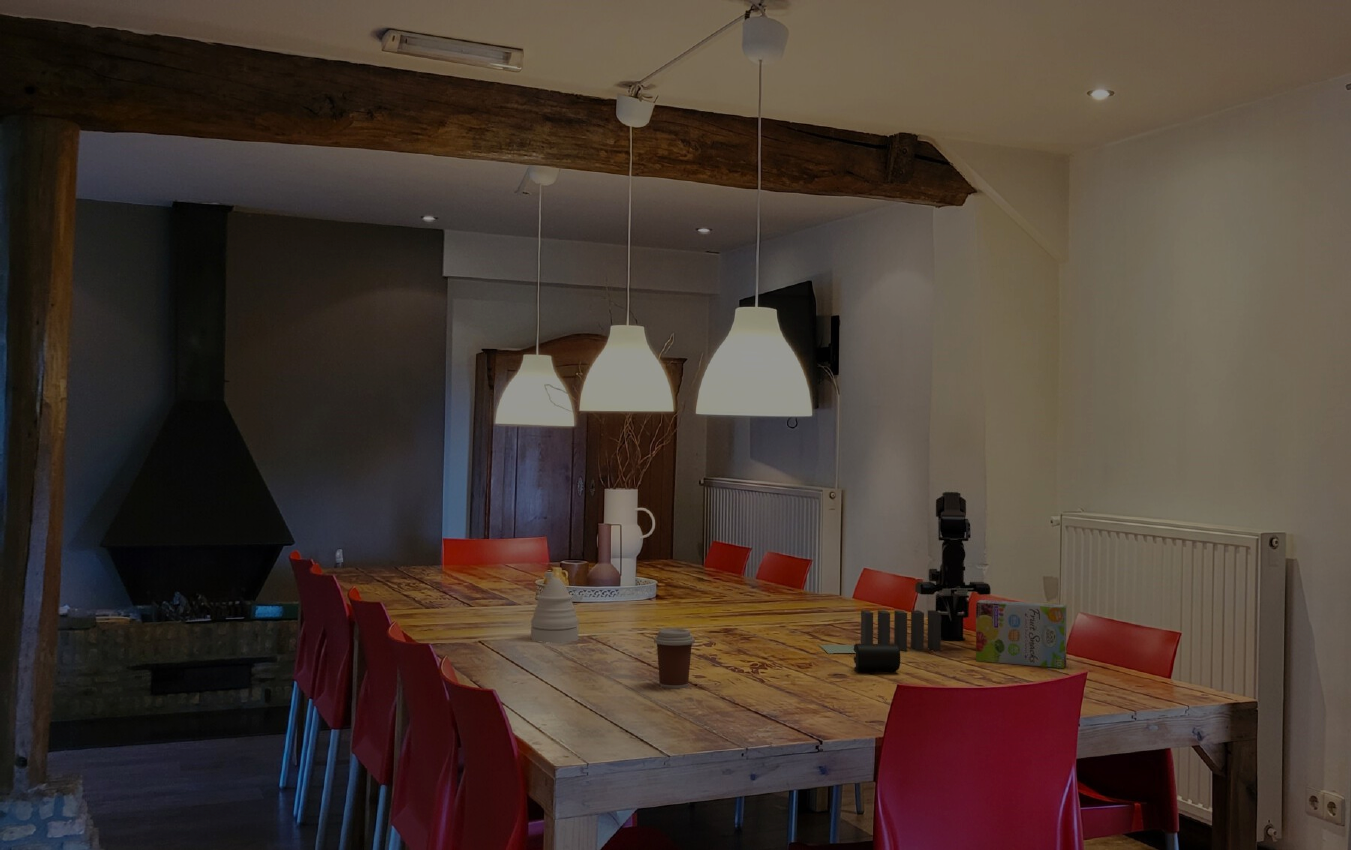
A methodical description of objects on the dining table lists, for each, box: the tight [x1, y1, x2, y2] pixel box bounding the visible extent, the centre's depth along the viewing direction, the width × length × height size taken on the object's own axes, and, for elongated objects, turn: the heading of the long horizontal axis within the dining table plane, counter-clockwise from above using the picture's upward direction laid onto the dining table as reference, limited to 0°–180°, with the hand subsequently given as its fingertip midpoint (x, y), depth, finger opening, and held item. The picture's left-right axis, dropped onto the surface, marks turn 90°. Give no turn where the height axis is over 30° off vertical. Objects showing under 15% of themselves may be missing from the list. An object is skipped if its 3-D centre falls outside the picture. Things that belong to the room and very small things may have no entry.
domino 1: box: [877, 609, 891, 644], centre depth 297 cm, size 2×5×10 cm, turn 4°
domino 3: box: [910, 609, 925, 652], centre depth 298 cm, size 2×5×10 cm, turn 4°
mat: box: [818, 644, 856, 655], centre depth 296 cm, size 9×12×1 cm
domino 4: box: [926, 609, 942, 652], centre depth 298 cm, size 2×5×10 cm, turn 5°
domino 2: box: [893, 609, 908, 652], centre depth 297 cm, size 2×5×10 cm, turn 4°
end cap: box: [853, 642, 901, 674], centre depth 267 cm, size 10×7×7 cm
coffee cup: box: [653, 627, 696, 689], centre depth 250 cm, size 9×9×12 cm
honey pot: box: [530, 571, 579, 644], centre depth 308 cm, size 13×13×18 cm
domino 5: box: [860, 609, 874, 644], centre depth 297 cm, size 2×5×10 cm, turn 5°
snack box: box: [975, 599, 1067, 669], centre depth 280 cm, size 21×6×15 cm, turn 65°
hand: (952, 620), depth 298 cm, fingers closed
